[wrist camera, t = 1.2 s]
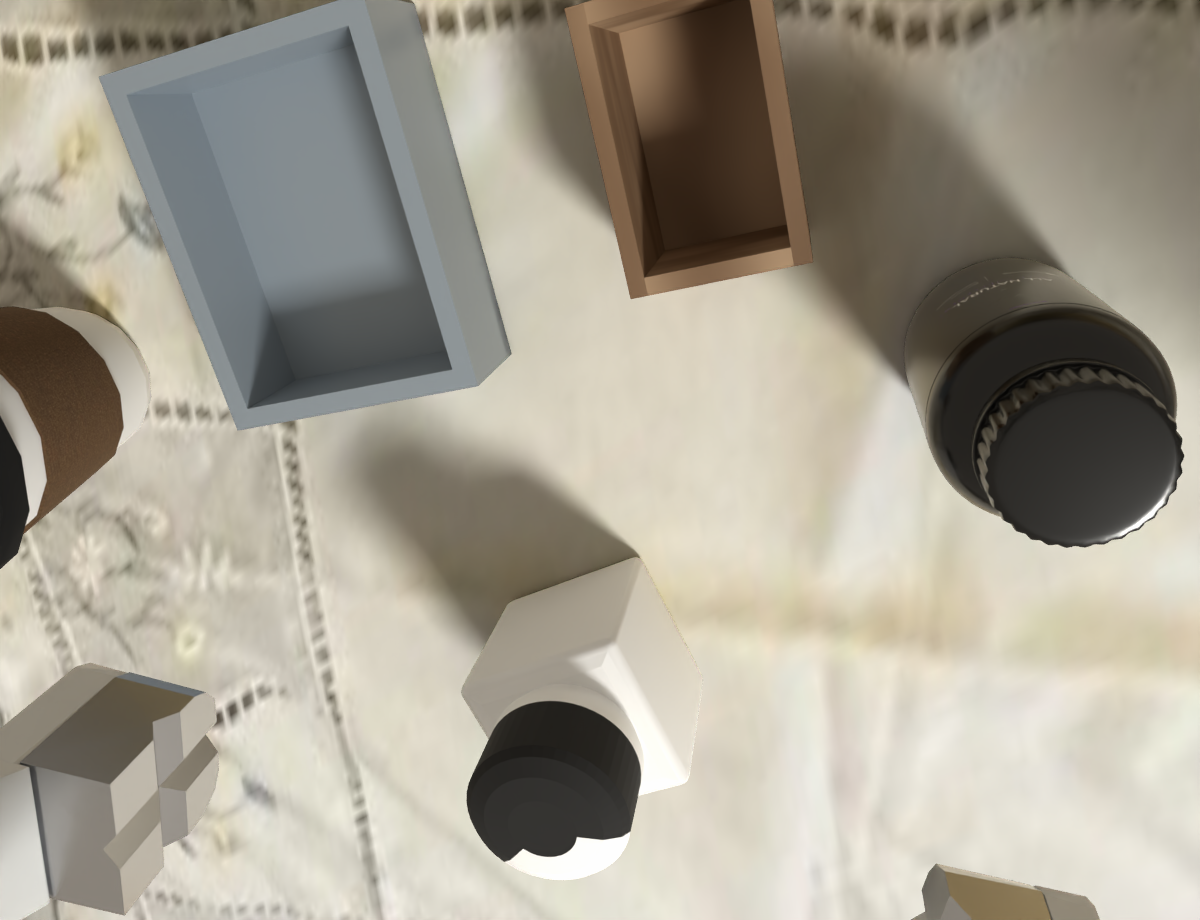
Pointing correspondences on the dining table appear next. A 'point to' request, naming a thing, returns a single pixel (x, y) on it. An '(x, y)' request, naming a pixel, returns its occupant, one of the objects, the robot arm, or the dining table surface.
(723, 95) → the walnut crate
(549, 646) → the medicine bottle
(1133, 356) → the supplement bottle
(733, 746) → the dining table surface
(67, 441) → the coffee cup
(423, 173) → the grey crate
